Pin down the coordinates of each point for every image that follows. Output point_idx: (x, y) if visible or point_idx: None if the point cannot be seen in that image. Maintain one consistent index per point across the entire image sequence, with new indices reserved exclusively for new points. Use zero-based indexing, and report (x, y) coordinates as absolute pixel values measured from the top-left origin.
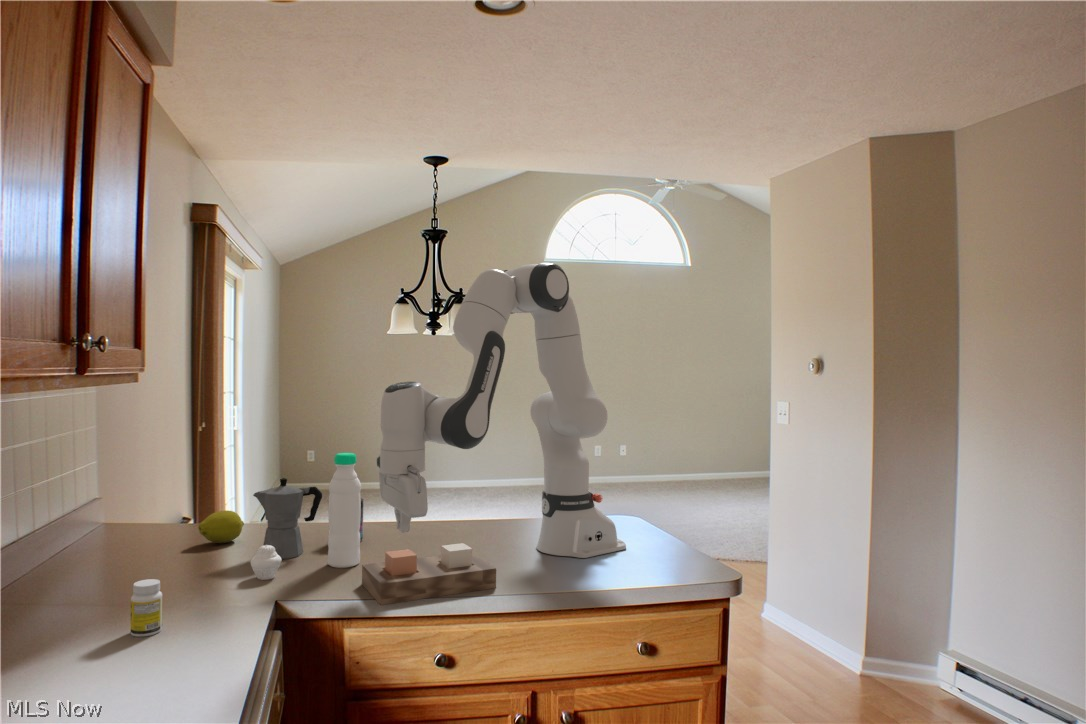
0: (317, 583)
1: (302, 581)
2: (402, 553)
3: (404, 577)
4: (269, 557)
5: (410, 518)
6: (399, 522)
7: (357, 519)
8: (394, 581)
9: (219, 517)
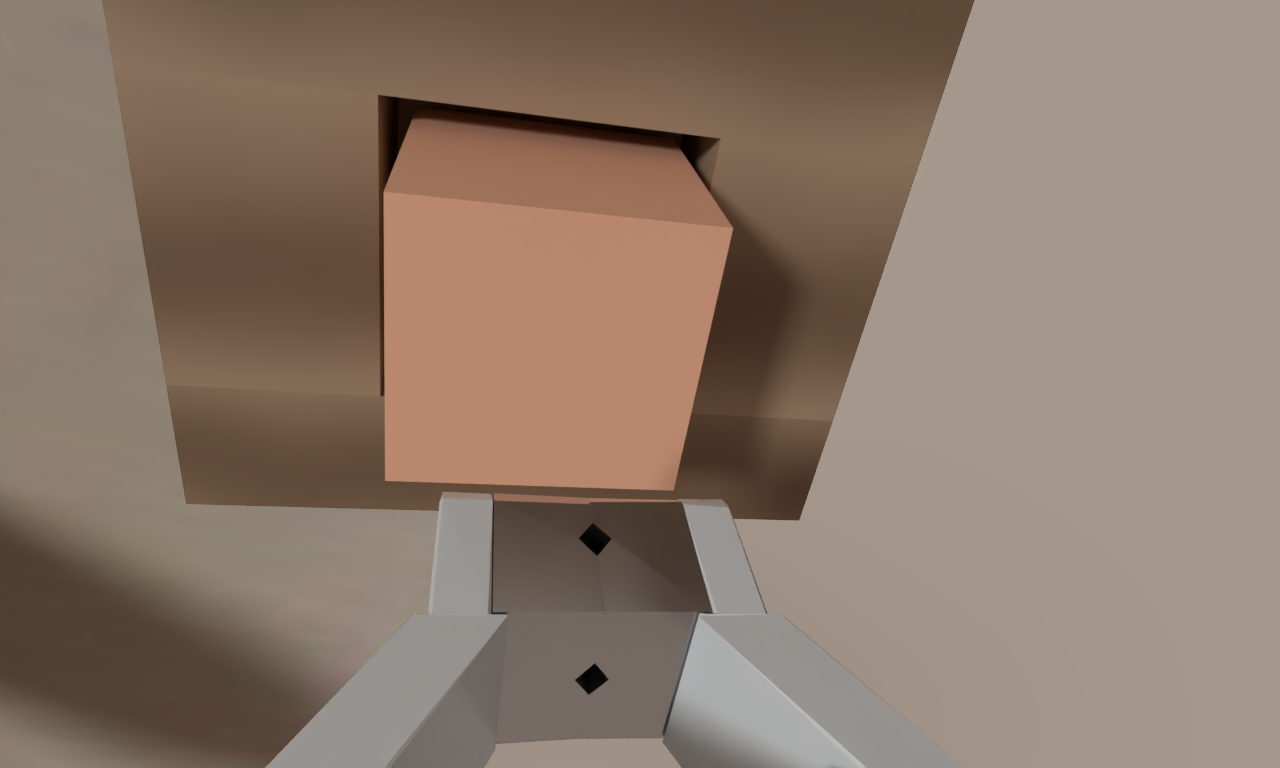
0: (102, 621)
1: (20, 679)
2: (554, 344)
3: (772, 328)
4: None
5: (896, 728)
6: (573, 731)
7: None
8: (812, 428)
9: None
